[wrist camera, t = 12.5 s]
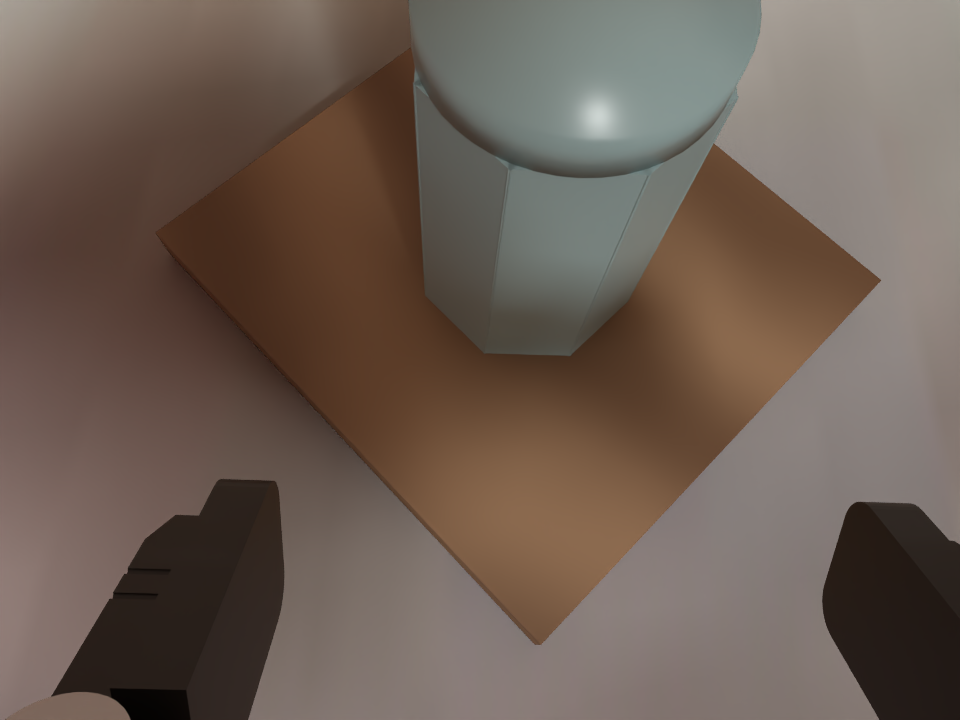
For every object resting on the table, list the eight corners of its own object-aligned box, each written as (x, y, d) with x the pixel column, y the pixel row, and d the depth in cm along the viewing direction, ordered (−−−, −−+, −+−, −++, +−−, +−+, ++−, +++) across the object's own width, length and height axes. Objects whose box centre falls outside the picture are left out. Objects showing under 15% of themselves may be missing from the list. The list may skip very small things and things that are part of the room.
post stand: (506, 6, 25) (525, -190, 19) (858, 298, 22) (1011, 173, 16) (170, 254, 21) (67, 108, 15) (534, 644, 18) (577, 646, 12)
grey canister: (525, 138, 22) (578, -187, 13) (670, 266, 20) (832, 0, 12) (380, 256, 20) (333, -23, 12) (527, 401, 19) (595, 207, 10)
